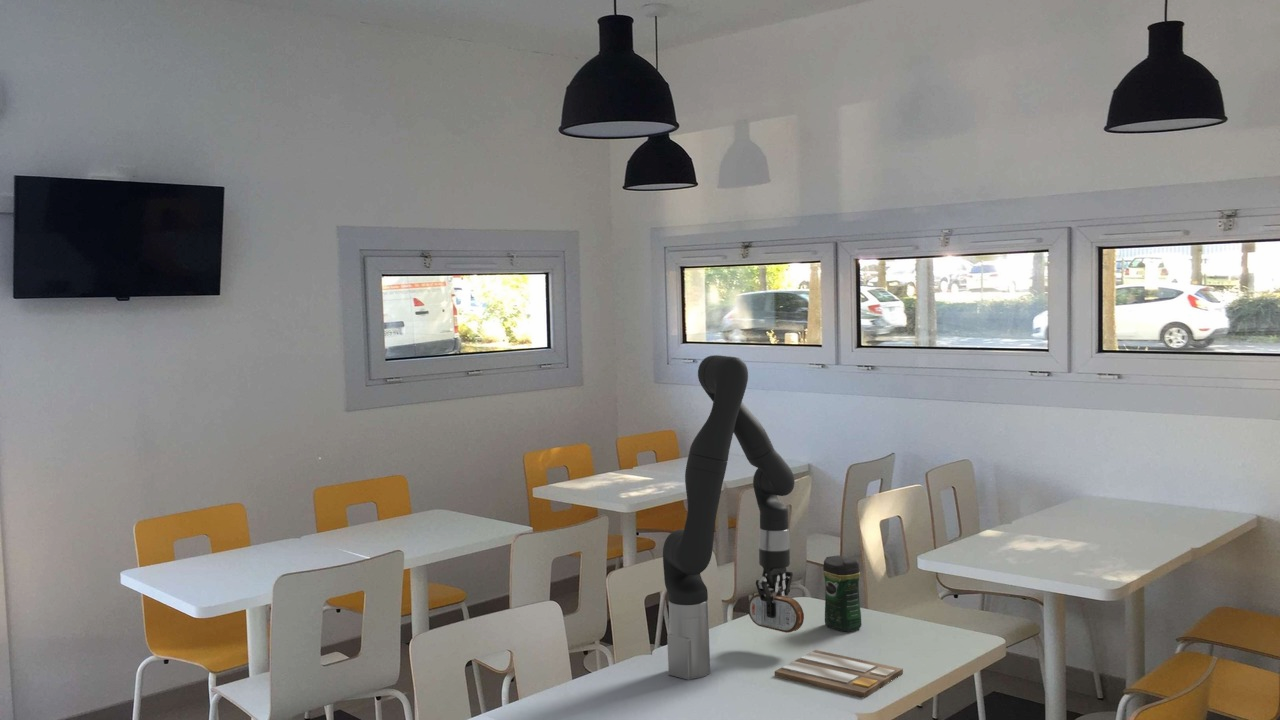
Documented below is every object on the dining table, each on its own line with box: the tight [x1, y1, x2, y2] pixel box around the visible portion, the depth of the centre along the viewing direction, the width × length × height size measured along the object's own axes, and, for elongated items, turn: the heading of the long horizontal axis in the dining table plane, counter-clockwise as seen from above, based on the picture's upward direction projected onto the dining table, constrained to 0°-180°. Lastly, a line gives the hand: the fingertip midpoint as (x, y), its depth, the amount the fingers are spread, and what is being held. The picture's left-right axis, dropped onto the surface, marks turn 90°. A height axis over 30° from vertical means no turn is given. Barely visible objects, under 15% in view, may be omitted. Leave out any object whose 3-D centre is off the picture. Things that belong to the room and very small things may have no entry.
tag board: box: [774, 649, 904, 699], centre depth 235 cm, size 18×23×2 cm
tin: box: [747, 593, 805, 634], centre depth 253 cm, size 15×3×8 cm, turn 50°
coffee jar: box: [822, 554, 862, 632], centre depth 270 cm, size 10×8×19 cm
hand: (774, 615), depth 254 cm, fingers closed on tin, 2 cm apart
